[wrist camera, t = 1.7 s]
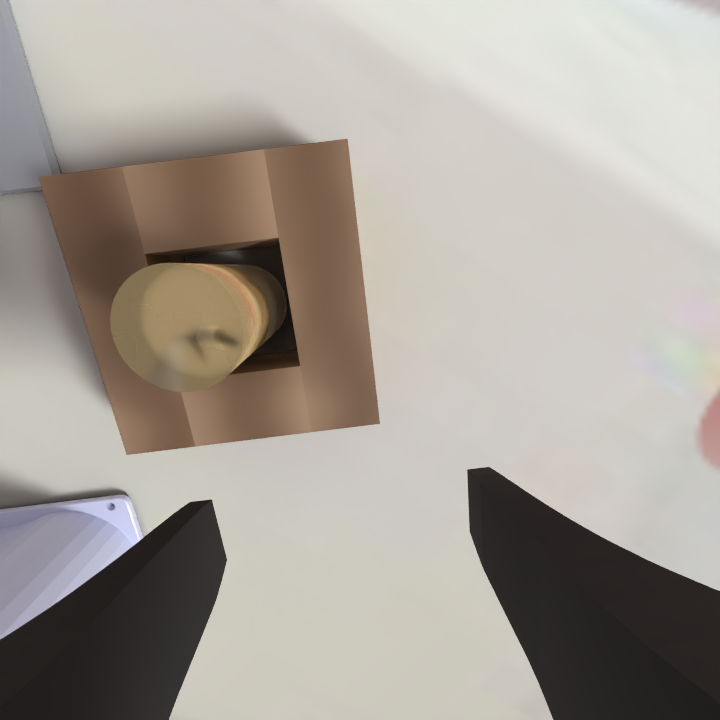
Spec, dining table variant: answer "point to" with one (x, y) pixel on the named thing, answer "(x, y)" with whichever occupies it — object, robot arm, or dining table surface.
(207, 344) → the brass cylinder
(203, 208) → the block
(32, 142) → the pad
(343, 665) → the dining table surface
